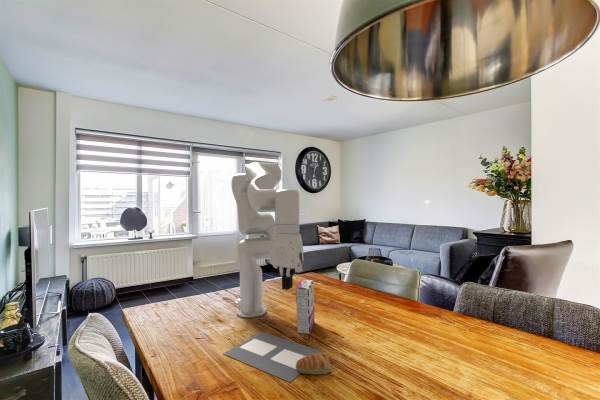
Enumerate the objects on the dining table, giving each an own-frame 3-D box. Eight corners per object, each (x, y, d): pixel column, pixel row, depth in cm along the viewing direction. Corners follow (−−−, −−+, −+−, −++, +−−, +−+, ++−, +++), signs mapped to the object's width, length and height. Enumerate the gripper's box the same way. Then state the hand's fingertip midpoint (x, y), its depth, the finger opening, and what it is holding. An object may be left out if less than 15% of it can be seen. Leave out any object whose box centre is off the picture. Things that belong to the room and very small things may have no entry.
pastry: (299, 378, 77) (299, 364, 77) (293, 364, 83) (293, 351, 83) (332, 373, 79) (332, 359, 79) (324, 360, 85) (324, 347, 85)
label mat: (223, 354, 90) (223, 353, 90) (262, 332, 105) (262, 331, 105) (290, 382, 75) (290, 381, 75) (324, 352, 90) (324, 351, 90)
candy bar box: (302, 321, 114) (301, 279, 115) (314, 322, 113) (314, 280, 114) (296, 333, 103) (295, 287, 104) (310, 334, 102) (309, 288, 103)
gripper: (260, 228, 91) (261, 287, 91) (300, 232, 82) (300, 296, 82) (276, 226, 97) (276, 281, 97) (314, 229, 88) (314, 289, 88)
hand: (287, 288), depth 90 cm, fingers closed
